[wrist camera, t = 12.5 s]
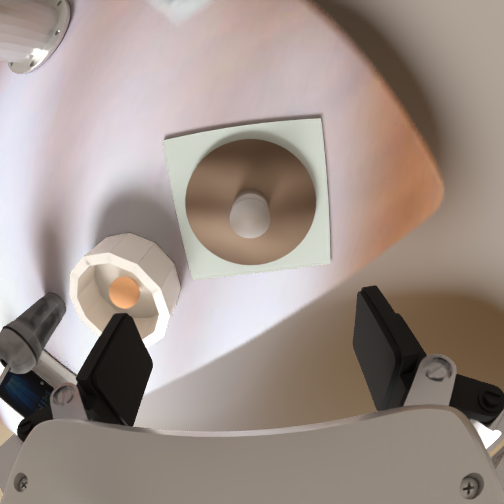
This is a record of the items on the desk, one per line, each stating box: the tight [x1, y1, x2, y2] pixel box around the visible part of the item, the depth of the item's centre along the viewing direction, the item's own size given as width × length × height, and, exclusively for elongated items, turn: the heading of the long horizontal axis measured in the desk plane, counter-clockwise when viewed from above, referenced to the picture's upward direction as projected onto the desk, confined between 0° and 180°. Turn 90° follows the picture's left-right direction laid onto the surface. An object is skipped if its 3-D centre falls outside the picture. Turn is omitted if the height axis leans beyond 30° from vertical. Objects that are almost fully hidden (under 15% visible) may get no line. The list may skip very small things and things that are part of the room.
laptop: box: [0, 350, 77, 418], centre depth 39 cm, size 18×12×13 cm
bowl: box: [70, 233, 181, 348], centre depth 32 cm, size 13×13×6 cm
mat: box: [162, 118, 330, 280], centre depth 31 cm, size 17×17×1 cm
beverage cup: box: [0, 293, 66, 384], centre depth 28 cm, size 7×7×20 cm
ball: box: [109, 277, 140, 308], centre depth 32 cm, size 4×4×4 cm
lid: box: [185, 139, 316, 265], centre depth 28 cm, size 14×14×6 cm
